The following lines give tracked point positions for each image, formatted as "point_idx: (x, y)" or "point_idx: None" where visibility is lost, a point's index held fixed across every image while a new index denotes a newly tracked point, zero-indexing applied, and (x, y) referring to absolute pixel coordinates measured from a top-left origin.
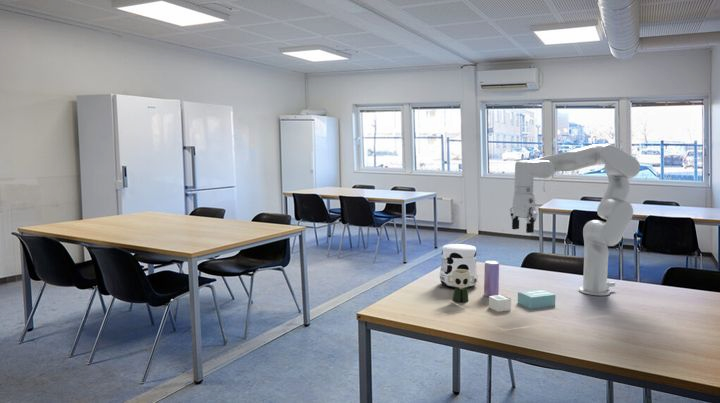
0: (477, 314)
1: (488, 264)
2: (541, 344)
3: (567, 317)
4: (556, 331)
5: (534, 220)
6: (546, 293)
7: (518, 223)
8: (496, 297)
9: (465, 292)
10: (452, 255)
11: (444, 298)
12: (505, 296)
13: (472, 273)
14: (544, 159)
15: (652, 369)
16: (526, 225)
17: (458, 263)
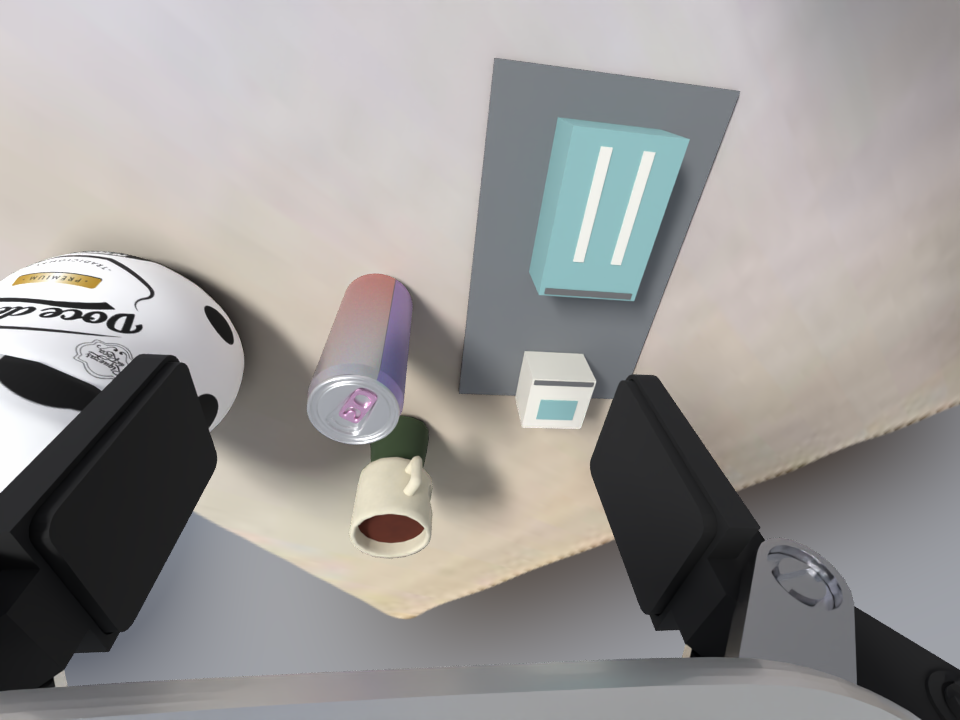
0: (542, 448)
1: (375, 435)
2: (809, 435)
3: (777, 205)
4: (804, 348)
5: (897, 656)
6: (645, 177)
7: (122, 460)
8: (552, 416)
9: (423, 457)
10: None
11: (343, 455)
12: (562, 383)
13: (204, 359)
14: None
15: None
16: (637, 580)
17: None
